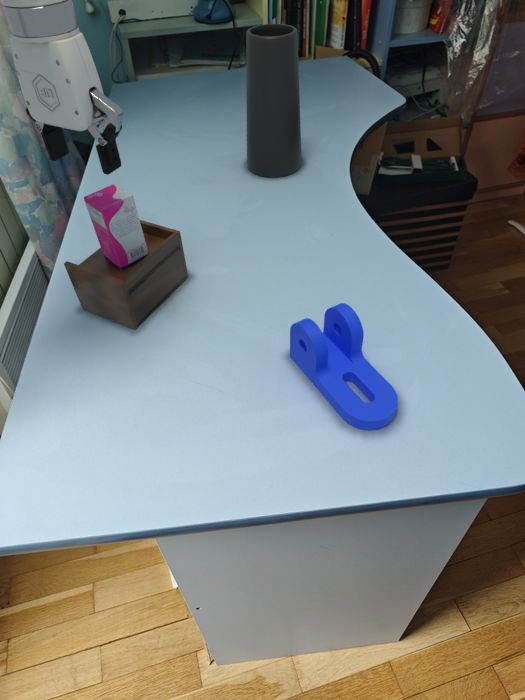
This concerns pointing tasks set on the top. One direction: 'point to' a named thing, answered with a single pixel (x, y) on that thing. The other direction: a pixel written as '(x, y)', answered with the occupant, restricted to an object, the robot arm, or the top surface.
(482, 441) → the top surface
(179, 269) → the wooden crate
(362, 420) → the bracket
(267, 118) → the vase
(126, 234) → the supplement box
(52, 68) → the robot arm
